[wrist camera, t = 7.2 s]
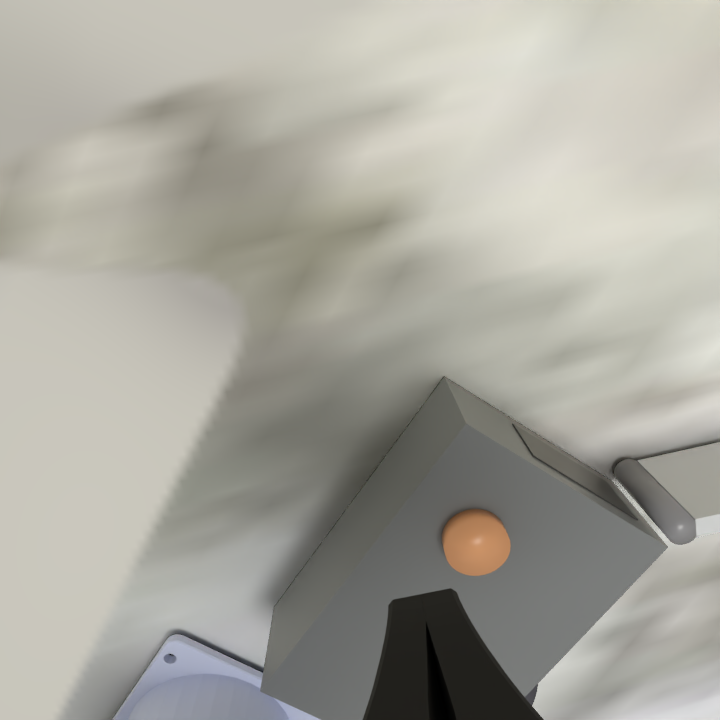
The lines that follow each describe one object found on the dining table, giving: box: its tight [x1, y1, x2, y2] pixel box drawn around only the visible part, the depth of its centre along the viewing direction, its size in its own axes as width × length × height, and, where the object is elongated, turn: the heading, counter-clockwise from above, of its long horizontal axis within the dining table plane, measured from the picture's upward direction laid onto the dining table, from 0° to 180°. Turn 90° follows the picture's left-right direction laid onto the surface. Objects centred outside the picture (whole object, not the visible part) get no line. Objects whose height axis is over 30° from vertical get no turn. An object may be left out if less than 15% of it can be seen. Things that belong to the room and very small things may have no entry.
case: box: [260, 377, 668, 720], centre depth 21 cm, size 12×9×5 cm
